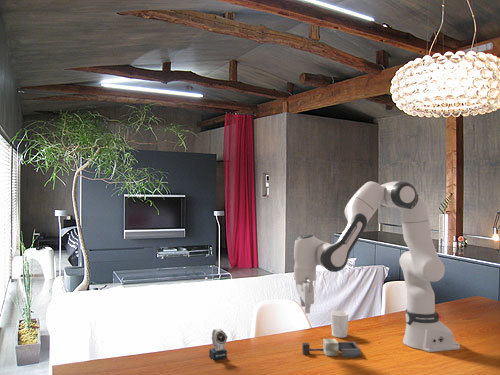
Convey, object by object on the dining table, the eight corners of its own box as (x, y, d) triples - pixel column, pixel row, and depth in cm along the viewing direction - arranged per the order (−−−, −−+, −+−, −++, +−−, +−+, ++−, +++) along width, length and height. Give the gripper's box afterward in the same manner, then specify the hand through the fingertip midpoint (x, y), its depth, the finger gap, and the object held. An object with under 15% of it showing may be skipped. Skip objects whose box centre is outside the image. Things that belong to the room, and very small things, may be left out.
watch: (215, 362, 164) (215, 333, 164) (207, 355, 171) (207, 327, 171) (229, 360, 167) (229, 331, 167) (220, 352, 174) (220, 325, 174)
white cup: (328, 336, 193) (329, 314, 193) (332, 331, 200) (332, 309, 200) (346, 339, 190) (346, 316, 190) (349, 333, 198) (349, 311, 198)
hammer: (335, 350, 177) (335, 338, 177) (338, 355, 172) (338, 343, 172) (301, 351, 176) (301, 339, 176) (303, 356, 171) (304, 343, 171)
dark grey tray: (354, 348, 179) (354, 341, 179) (360, 357, 170) (360, 349, 170) (336, 349, 178) (336, 341, 178) (341, 357, 170) (341, 349, 170)
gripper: (318, 280, 164) (318, 317, 164) (308, 270, 185) (308, 302, 185) (301, 281, 164) (301, 317, 164) (293, 270, 184) (293, 303, 184)
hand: (305, 309), depth 174 cm, fingers open, 8 cm apart
